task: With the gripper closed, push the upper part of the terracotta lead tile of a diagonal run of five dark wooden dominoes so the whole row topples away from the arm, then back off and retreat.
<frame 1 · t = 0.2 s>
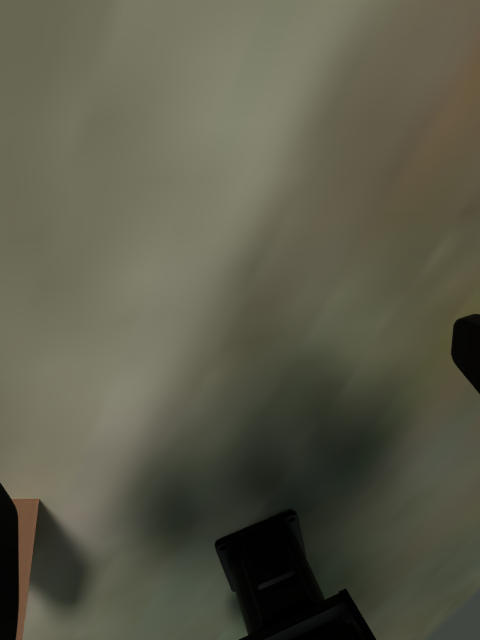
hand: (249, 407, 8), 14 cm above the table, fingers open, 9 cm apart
domino 1: (19, 529, 27), on the table
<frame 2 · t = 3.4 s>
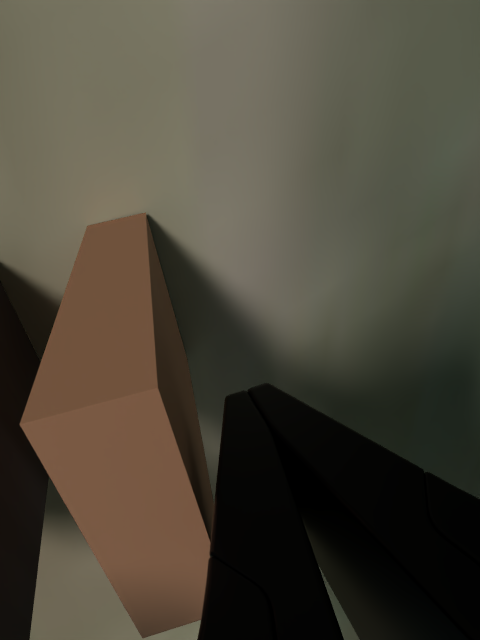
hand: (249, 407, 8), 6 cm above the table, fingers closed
domino 1: (142, 299, 13), on the table
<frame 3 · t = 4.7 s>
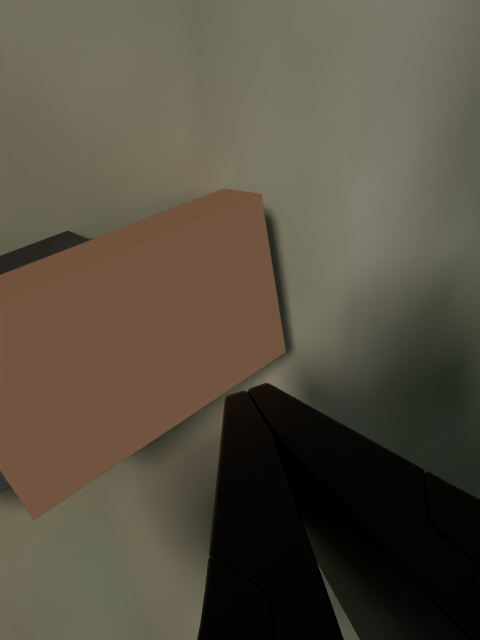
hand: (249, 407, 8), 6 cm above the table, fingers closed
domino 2: (111, 319, 12), point 1 cm above the table, tilted 68°, touching domino 1, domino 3
domino 1: (256, 274, 13), point 1 cm above the table, tilted 68°, touching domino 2
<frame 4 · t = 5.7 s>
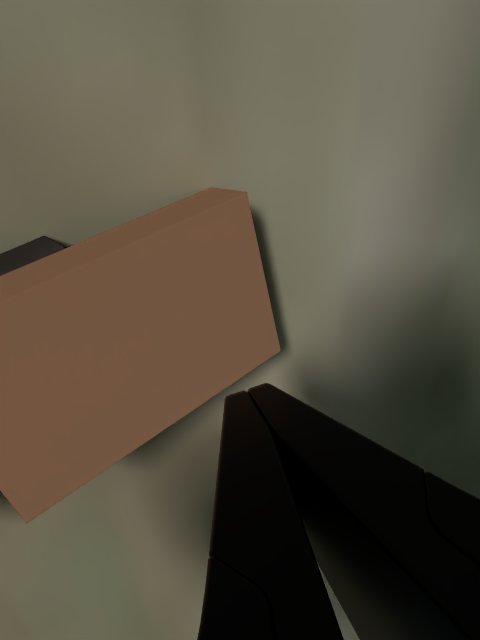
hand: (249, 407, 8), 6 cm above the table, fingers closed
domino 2: (93, 323, 12), point 1 cm above the table, tilted 69°, touching domino 1, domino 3
domino 1: (247, 273, 13), point 1 cm above the table, tilted 69°, touching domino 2
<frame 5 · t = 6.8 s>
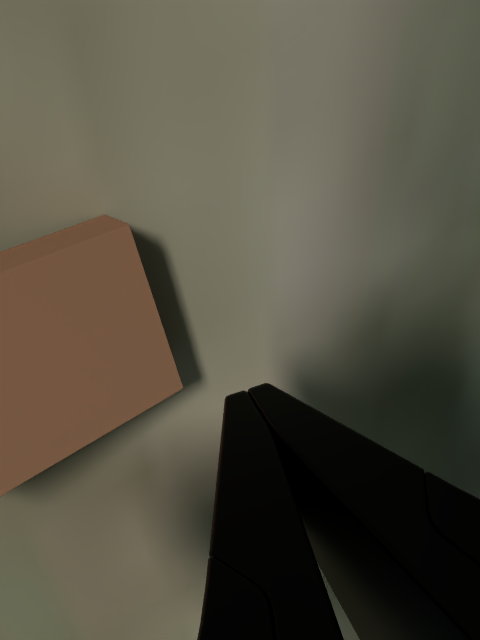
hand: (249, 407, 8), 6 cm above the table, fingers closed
domino 1: (146, 306, 12), point 1 cm above the table, tilted 72°, touching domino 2
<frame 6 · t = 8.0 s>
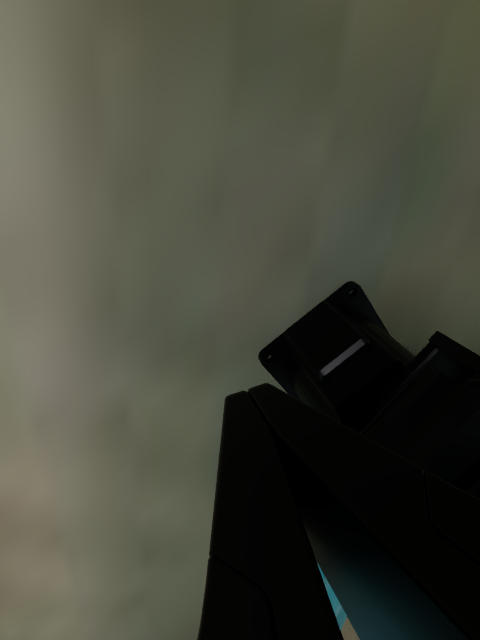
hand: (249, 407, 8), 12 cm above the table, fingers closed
crystal: (225, 630, 35), on the table
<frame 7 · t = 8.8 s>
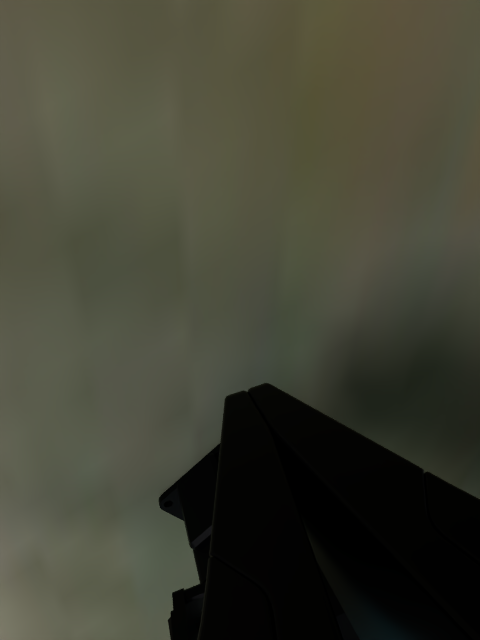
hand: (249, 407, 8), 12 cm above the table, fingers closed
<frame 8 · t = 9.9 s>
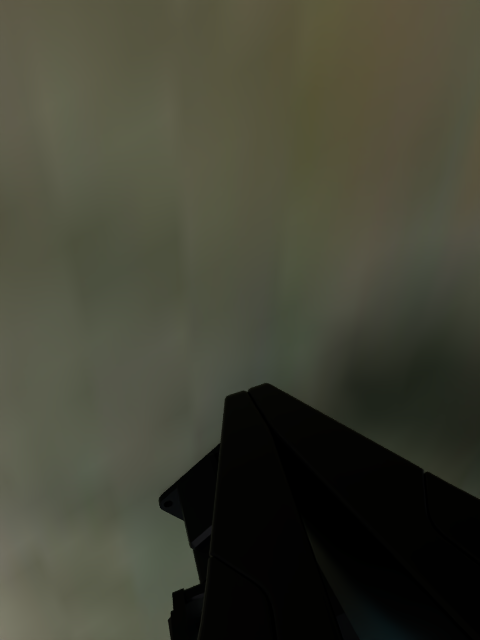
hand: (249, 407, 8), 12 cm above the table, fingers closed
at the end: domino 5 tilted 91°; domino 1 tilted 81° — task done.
